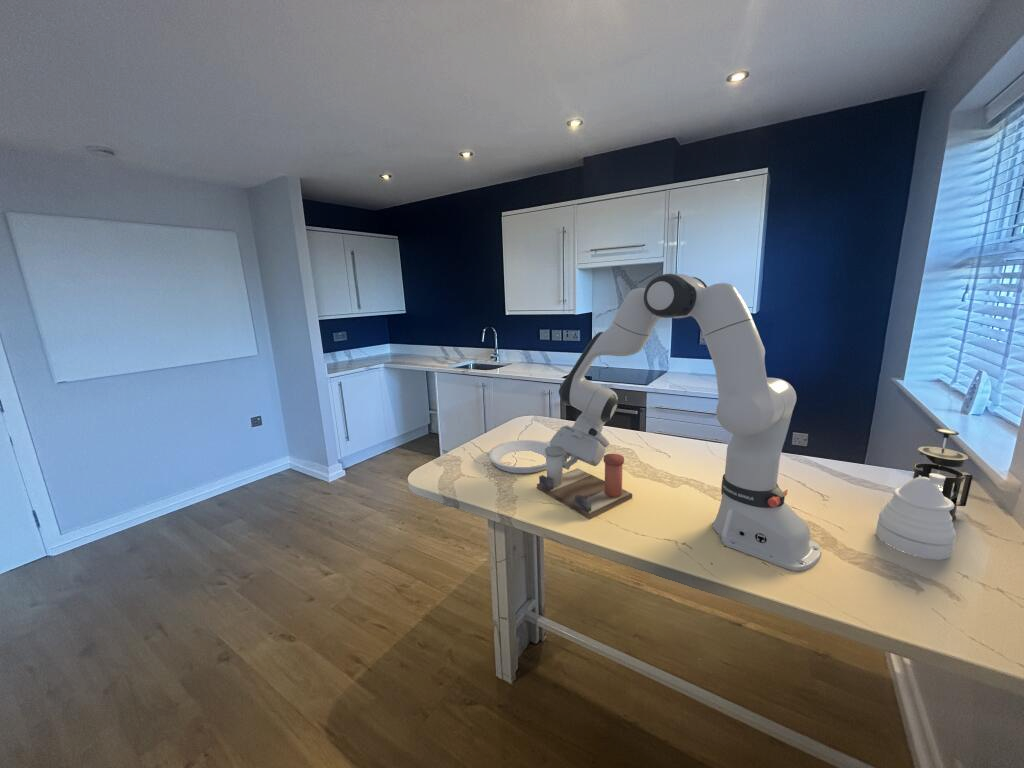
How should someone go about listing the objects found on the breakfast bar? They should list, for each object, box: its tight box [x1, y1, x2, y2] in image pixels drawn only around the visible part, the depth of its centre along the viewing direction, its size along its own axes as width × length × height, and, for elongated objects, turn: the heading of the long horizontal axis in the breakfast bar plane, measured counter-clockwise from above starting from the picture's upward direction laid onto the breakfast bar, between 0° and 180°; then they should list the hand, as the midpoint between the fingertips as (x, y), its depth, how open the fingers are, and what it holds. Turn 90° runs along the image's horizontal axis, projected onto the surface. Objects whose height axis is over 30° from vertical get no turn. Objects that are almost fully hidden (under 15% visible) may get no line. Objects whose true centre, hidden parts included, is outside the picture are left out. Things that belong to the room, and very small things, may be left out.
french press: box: [912, 428, 973, 522], centre depth 105 cm, size 12×9×23 cm
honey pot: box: [875, 472, 957, 560], centre depth 93 cm, size 13×13×18 cm
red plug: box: [603, 453, 625, 497], centre depth 119 cm, size 6×6×11 cm
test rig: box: [536, 468, 633, 520], centre depth 124 cm, size 23×18×4 cm
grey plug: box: [545, 446, 564, 486], centre depth 126 cm, size 6×6×11 cm
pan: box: [488, 439, 551, 475], centre depth 153 cm, size 26×39×5 cm
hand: (563, 467), depth 129 cm, fingers closed
